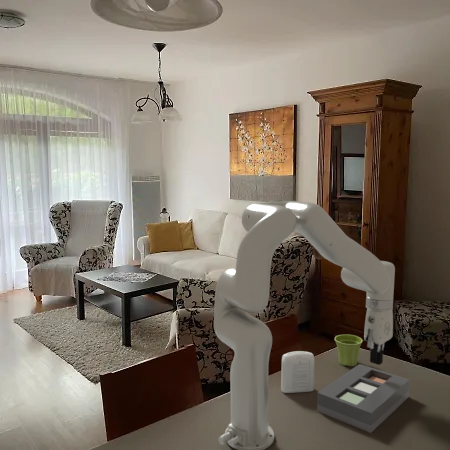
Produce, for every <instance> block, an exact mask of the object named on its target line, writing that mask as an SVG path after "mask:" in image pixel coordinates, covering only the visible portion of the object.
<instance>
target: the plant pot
mask: <svg viewBox="0 0 450 450" xmlns="http://www.w3.org/2000/svg"><path fill="white" fill-rule="evenodd" d="M334 341H335V344H336V347H337V355H338V356H337V357H338V363H339V364H340V365H342V366H344V367H345V366H348V367H356V366H357V365H358V360H359V353H360V348H361V346H362V343H363V341H364V340H363V339H362V338H361V337H359V336H358V335H355V334H354V335H353V334H339V335H335V337H334Z"/></svg>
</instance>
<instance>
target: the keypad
mask: <svg viewBox="0 0 450 450" xmlns="http://www.w3.org/2000/svg"><path fill="white" fill-rule="evenodd" d="M372 376H373V377H377V378H380V379H383V380H386V381H385V382H384V383H383V384H382V383H379V382H376V381H373V380H370V379H369V378H371V377H372ZM360 382H362V383H365V384H368V385H371V386H374V387H377V389H376V390H374V391H373V392H372V393H371V394H370V393H367V392H364V391H361V390H358V389H355V388H353V387H354V386H356V385H357V384H358V383H360ZM410 383H411V382H410V379H409V378H407V377H403V376H400V375H397V374H393V373H389V372H387V371H383V370H380V369H376V368H373V367H371V366H367V365H364V364H360V363H358V364H356V365H355V366H353V368H351V369H350V370H348V371H347V372H346V373H344V374H343V375H341V376H340V377H338V378H336V379H335V380H334V381H333V382H331V383H330V384H328V385H326V386H325V387H324V388H322V389H321V390H319V391H318V392H317V393H316V397H317V398H316V399H317V400H316V403H317V405H316V411H317V412H319V413H321V414H322V415H323V414H324V415H326V416H328V417H330V418H333V419H335V420H338V421H340V422H343V423H345V424H348V425H349V426H353V427H355V428H357V429H360V430H362V431H365V432H368V433H370V434H372V433H373V432H374V431H375V430H376V429H377V428H378V427H380V425H381V424H383V422H384V421H385V420H386V419H388V417H389V416H391V414H393V412H395V411H396V410H397V409H398V408H399V407H400V406H401V405H402V404H403V403H404V402H405V401H406V400H407V399H409V397H410ZM346 392H349V393H352V394H355V395H357V396H360V397H363V398H364V399H363V400H362V401H361V402H360V403H358V404H357V405H356V404H353V403H350V402H348V401H345V400H342V399H340V397H341V396H342V395H344V394H345V393H346Z"/></svg>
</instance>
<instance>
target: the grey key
mask: <svg viewBox="0 0 450 450" xmlns="http://www.w3.org/2000/svg"><path fill="white" fill-rule="evenodd" d="M353 388H355V389H358V390H361V391H364V392H367V393H370V394H371V393H372V392H373V391H374V390H376V389H377V387H374V386H371V385H368V384H365V383H362V382H360V383H358V384H357V385H356V386H354V387H353Z"/></svg>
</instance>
